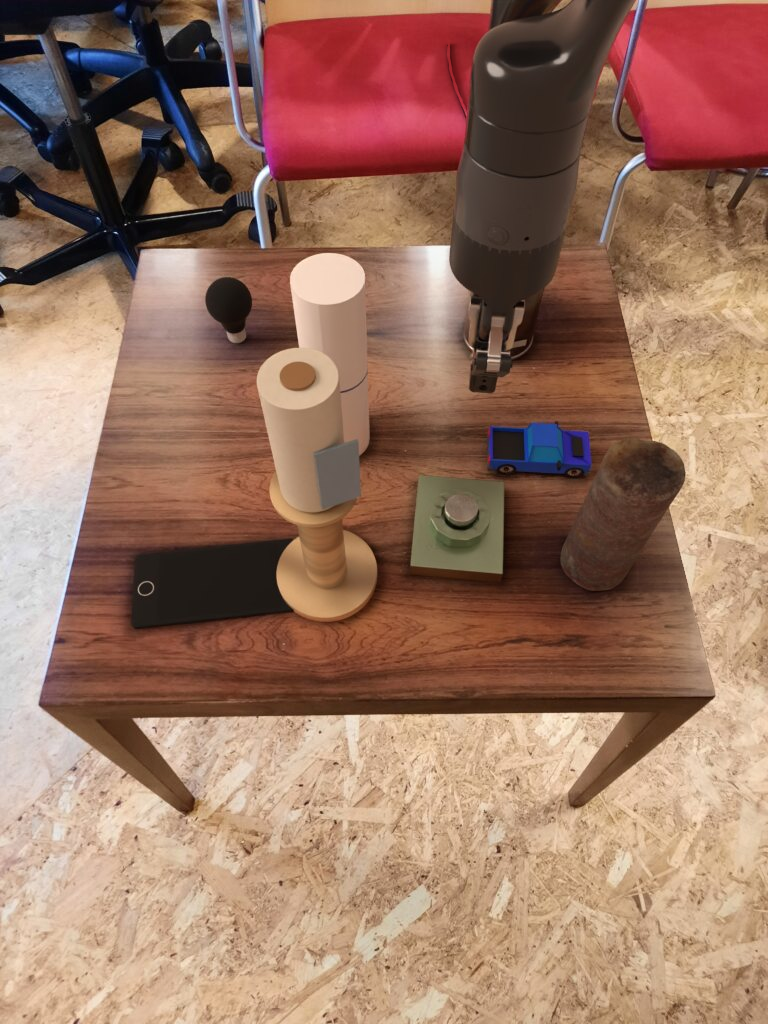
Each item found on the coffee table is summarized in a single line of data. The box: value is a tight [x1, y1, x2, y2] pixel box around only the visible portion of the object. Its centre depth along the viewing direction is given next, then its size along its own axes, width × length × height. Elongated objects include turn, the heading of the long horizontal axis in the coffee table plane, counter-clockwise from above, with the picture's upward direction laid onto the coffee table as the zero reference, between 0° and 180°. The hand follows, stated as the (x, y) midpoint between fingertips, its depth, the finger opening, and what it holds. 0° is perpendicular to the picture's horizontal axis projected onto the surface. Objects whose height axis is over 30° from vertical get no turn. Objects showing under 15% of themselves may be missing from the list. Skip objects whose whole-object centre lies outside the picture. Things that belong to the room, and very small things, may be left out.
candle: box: [560, 436, 687, 592], centre depth 73 cm, size 8×7×20 cm
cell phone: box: [130, 538, 296, 630], centre depth 81 cm, size 9×18×1 cm, turn 97°
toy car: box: [486, 421, 592, 480], centre depth 87 cm, size 7×12×5 cm, turn 86°
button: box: [444, 494, 478, 530], centre depth 80 cm, size 4×4×2 cm
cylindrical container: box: [289, 252, 371, 457], centre depth 80 cm, size 7×7×25 cm
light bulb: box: [204, 276, 253, 344], centre depth 95 cm, size 6×6×10 cm
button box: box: [409, 474, 505, 584], centre depth 82 cm, size 12×10×4 cm
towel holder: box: [268, 470, 378, 623], centre depth 73 cm, size 11×11×18 cm
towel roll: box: [256, 347, 362, 512], centre depth 59 cm, size 6×6×14 cm
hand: (481, 385), depth 63 cm, fingers closed
